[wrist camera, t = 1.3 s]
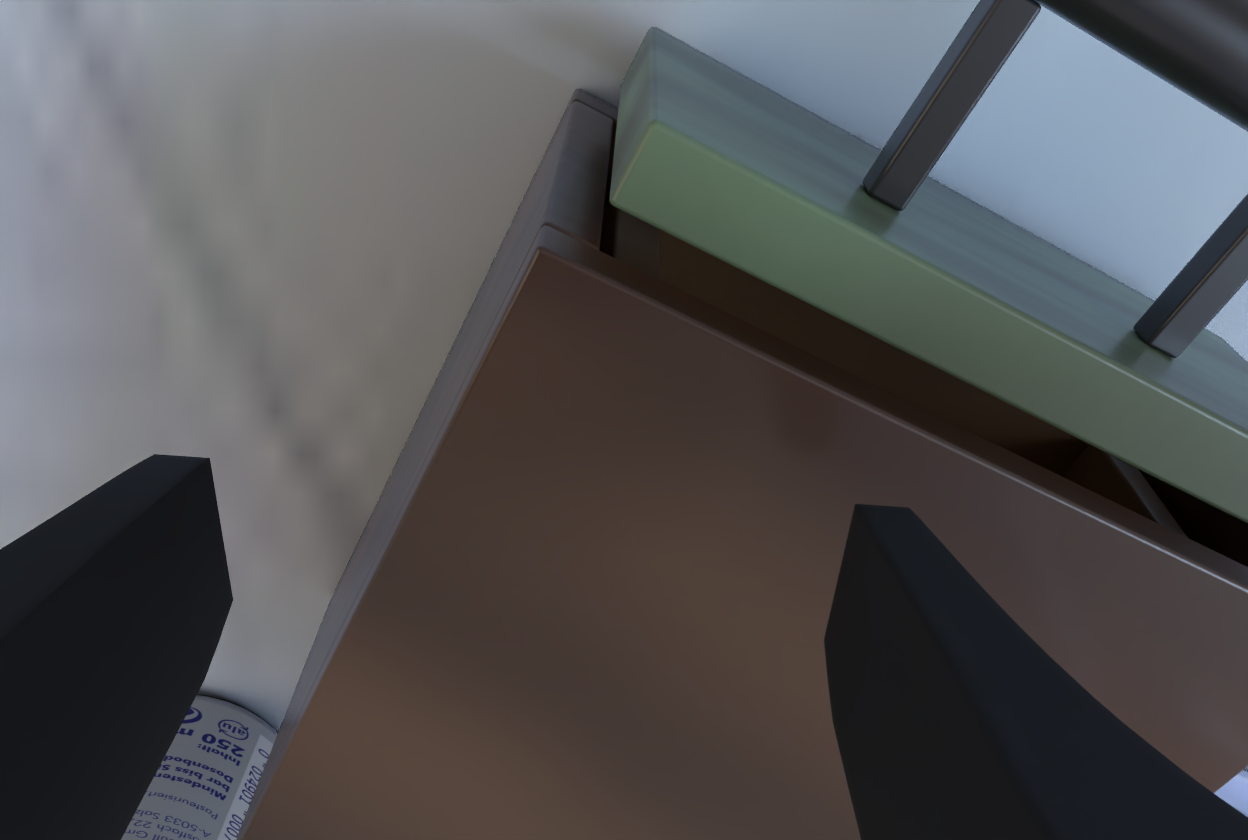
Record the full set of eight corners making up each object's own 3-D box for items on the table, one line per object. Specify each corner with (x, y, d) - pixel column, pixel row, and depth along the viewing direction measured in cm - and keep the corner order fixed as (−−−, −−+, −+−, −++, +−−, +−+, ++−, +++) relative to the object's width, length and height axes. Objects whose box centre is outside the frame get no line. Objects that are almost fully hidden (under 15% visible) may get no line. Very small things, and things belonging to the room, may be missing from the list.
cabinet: (577, 86, 18) (537, 245, 12) (1164, 394, 21) (1388, 656, 15) (330, 599, 25) (217, 884, 18) (810, 781, 28) (859, 1082, 21)
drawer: (797, -269, 15) (871, -299, 10) (1415, 128, 18) (1713, 259, 13) (386, 550, 23) (314, 760, 18) (855, 736, 26) (905, 962, 21)
